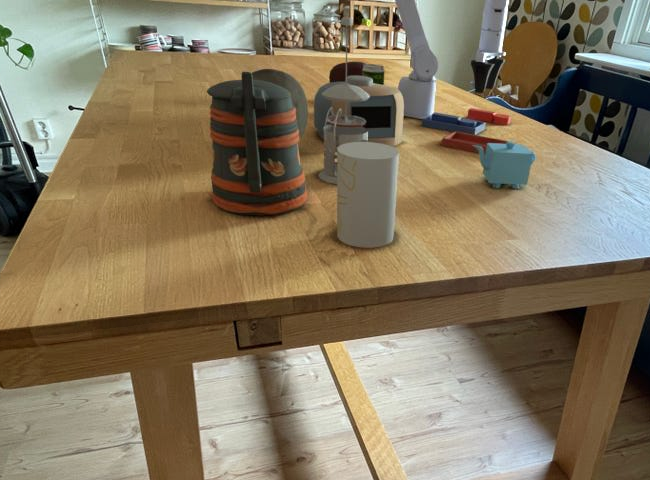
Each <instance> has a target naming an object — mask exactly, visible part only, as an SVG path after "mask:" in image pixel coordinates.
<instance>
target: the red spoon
mask: <svg viewBox="0 0 650 480" xmlns="http://www.w3.org/2000/svg"><path fill="white" fill-rule="evenodd" d="M511 118H512V117H511V116H510V115H508V114H504V113H497V112H496V111H491V110H485V109H478V108H472V107H471V108H468V110H467V118H466V119H472V120H475V121H480V122H486V123H493V124H495V125H497V126H498V125H500V126H509V125H510V123H511Z"/></svg>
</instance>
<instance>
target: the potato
mask: <svg viewBox="0 0 650 480" xmlns="http://www.w3.org/2000/svg"><path fill="white" fill-rule="evenodd" d="M365 64H366V62H363V61H347V76H362V69H363V67H364V66H363V65H365ZM345 78H346V61H345V62H340V63H338V64H335V65H334V66H332V68H331V69H330V70H329V75H328V79H329V82H328V83H331V82H345Z"/></svg>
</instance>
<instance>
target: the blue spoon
mask: <svg viewBox="0 0 650 480" xmlns="http://www.w3.org/2000/svg"><path fill="white" fill-rule="evenodd" d="M461 118H462V116H460V115H454V114H447V113H442V112H436V111H435V112H434V113H433V114H432V121H438V122H444V123H449V124H455V125H461V126H466V127H472V128H475V127H476V123H477V121H478V120H475V119H469V118H462V119H461Z"/></svg>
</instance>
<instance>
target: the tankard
mask: <svg viewBox="0 0 650 480" xmlns="http://www.w3.org/2000/svg"><path fill="white" fill-rule="evenodd" d="M206 93H207V95H208V96H211V104H210V105H209V116H210V118H209V121H210V123H209V137H210V139H211V140H212V141H211V144H212V145H211V146H212V148H211V149H212V150H211V151H212V168H211V171H210V174H211V175H210V180H211V189H212V191H211V193H212V196H211V198H212V199H211V200H212V201H213V202H214V204H215V205H216V206H217V207H219V208H221V209H222V210H224V211H226V212H228V213H229V212H230V213H233V214H237V215H244V216H247V215H248V216H261V217H262V216H266V215H268V216H270V215H274V216H276V215H282V214H285V213H289V212H294V211H296V210H298V209H299V208H301V207H302V206H303V205H304V204H305V203H306V202H307V199H308V193H307V189H306V176H305V170H304V169H303V168H302V164H301V157H300V150H299V143H298V142H299V141H300V140H299V135H298V133H299V130H298V126H297V120H296V113H295V112H296V109H295V107H294V106H293V105H292V99H291V93H290V92H289V91H288V90H286V89H285V88H283V87H281V86H278V85H276V84H273V83H270V82H266V81H261V80H253V78H252V72H250V71H242V72H241V79H232V80H231V79H230V80H225V81H221V82H218V83H216V84H214V85H212V86H210V87H209V88H208V89H207V90H206Z"/></svg>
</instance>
